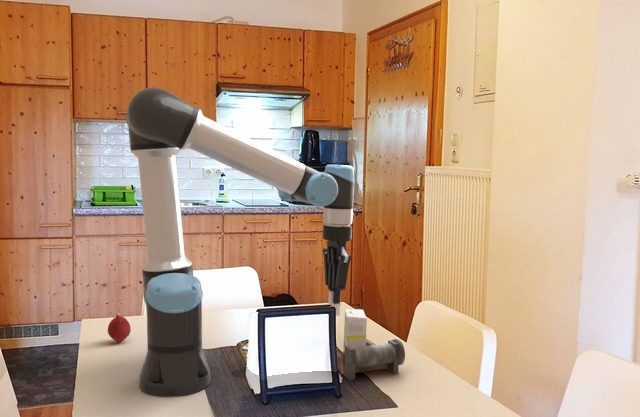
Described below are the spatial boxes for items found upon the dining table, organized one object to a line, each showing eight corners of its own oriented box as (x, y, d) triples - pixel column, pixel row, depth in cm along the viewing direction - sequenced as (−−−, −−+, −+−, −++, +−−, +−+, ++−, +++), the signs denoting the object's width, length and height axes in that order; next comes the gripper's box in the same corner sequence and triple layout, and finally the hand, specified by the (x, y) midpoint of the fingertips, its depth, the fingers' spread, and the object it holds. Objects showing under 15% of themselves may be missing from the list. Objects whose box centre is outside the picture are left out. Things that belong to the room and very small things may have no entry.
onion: (134, 339, 165) (133, 310, 164) (125, 346, 159) (124, 316, 159) (113, 338, 166) (113, 310, 165) (104, 345, 160) (103, 315, 159)
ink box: (366, 365, 147) (367, 317, 146) (345, 365, 146) (346, 317, 145) (362, 353, 155) (363, 308, 154) (343, 353, 155) (344, 308, 154)
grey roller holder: (353, 382, 135) (353, 349, 135) (314, 352, 156) (315, 323, 155) (404, 374, 140) (405, 343, 140) (361, 346, 161) (361, 318, 161)
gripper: (362, 227, 152) (357, 320, 154) (340, 222, 164) (336, 308, 166) (334, 227, 149) (330, 322, 151) (314, 222, 161) (311, 309, 163)
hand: (333, 314), depth 158 cm, fingers closed
